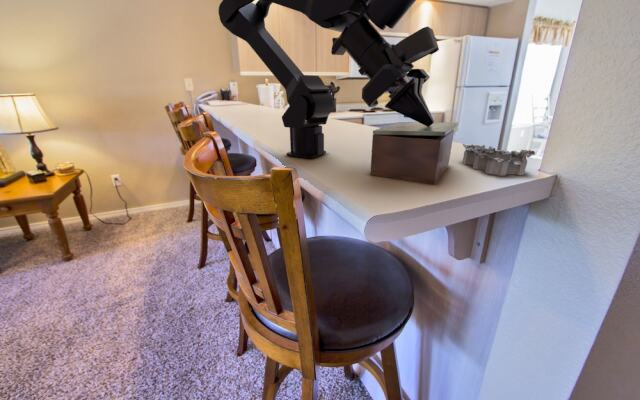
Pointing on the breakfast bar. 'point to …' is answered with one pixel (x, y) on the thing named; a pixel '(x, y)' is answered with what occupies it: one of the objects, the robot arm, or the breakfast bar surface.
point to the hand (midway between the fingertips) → (431, 124)
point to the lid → (417, 129)
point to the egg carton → (496, 160)
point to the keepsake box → (411, 156)
